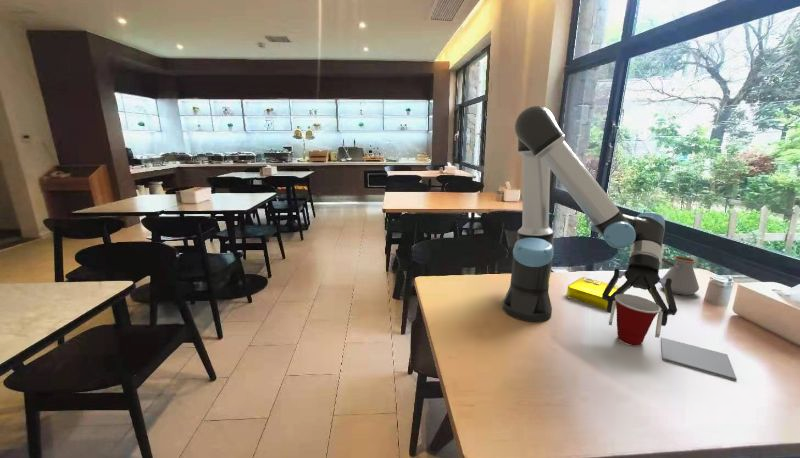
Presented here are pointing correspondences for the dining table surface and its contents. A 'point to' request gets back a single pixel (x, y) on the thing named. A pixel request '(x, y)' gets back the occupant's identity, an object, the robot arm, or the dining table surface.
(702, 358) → the card
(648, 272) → the robot arm
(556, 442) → the dining table surface
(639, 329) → the plastic cup
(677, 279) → the coffee pot
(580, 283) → the element tile
